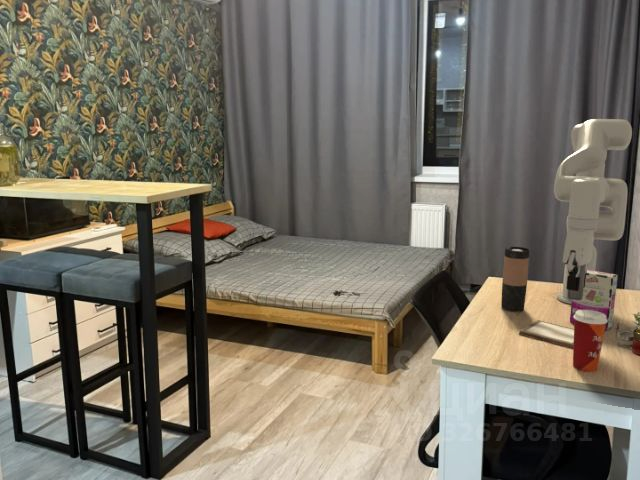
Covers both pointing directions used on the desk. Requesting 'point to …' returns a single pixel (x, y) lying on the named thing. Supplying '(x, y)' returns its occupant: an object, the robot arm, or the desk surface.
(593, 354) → the paper cup
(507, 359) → the desk surface
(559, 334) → the clipboard
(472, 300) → the desk surface
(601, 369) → the desk surface
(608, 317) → the candy bar box
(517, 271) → the travel mug
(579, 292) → the marker
